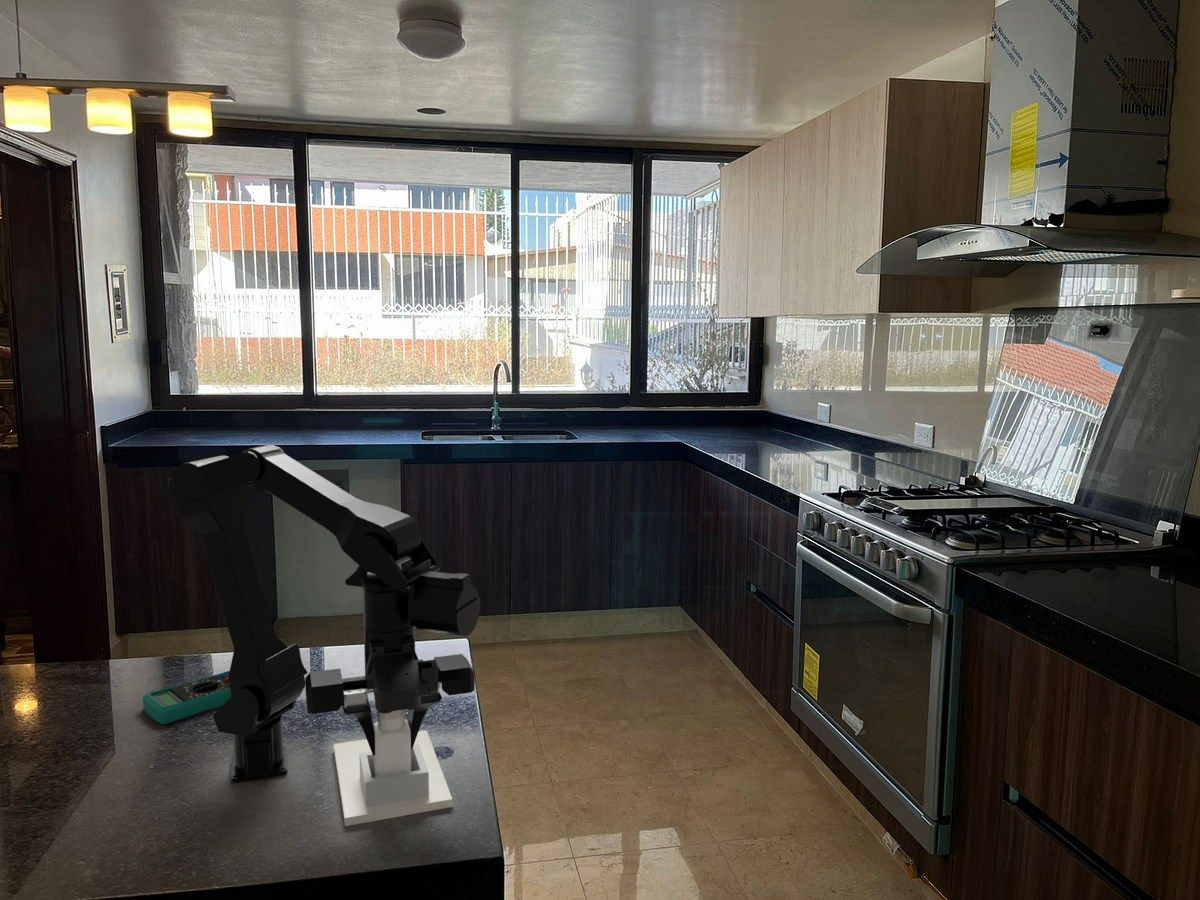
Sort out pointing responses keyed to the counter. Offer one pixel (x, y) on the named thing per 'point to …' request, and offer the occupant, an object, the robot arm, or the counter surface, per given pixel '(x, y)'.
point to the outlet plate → (389, 783)
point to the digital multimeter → (187, 698)
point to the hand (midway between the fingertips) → (392, 751)
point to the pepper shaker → (392, 744)
